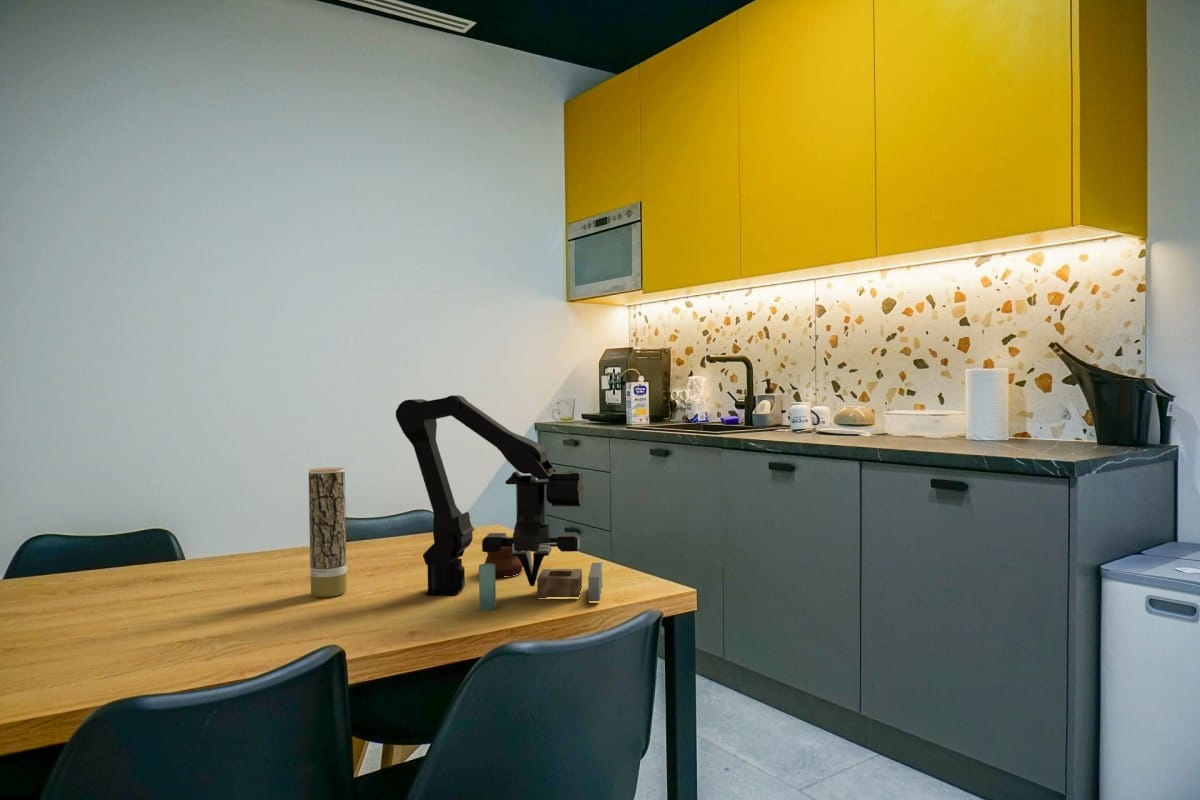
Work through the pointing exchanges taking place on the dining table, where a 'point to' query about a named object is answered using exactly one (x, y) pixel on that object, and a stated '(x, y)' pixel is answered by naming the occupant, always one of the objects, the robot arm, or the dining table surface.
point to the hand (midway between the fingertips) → (532, 585)
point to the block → (559, 583)
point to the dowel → (487, 587)
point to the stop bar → (595, 582)
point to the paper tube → (327, 531)
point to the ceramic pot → (504, 562)
